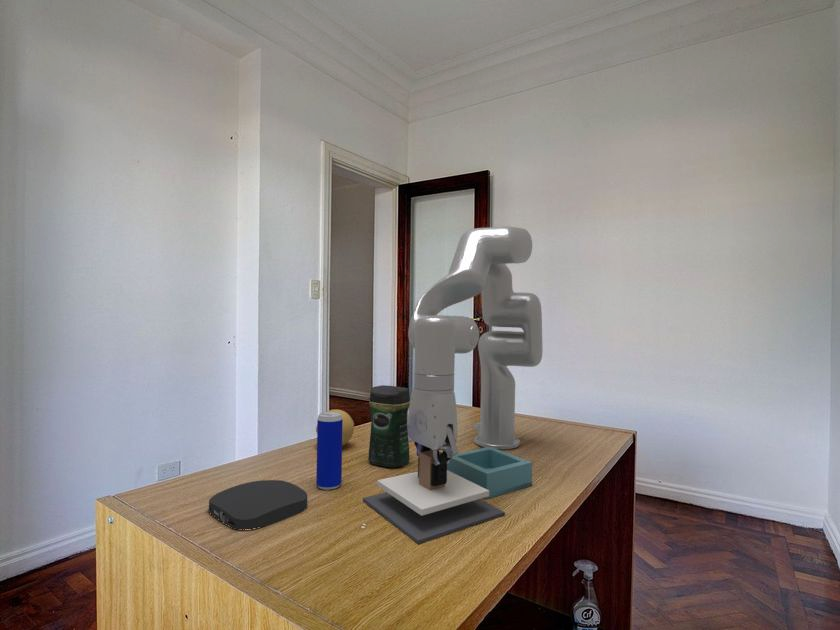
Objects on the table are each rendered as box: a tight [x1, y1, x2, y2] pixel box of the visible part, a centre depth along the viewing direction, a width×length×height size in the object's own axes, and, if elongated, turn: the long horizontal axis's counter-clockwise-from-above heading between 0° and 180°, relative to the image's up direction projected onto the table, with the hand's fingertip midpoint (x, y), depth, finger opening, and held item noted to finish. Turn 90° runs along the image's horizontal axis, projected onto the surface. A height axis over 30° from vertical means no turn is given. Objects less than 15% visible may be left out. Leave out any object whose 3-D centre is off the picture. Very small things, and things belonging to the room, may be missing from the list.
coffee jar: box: [368, 384, 411, 468], centre depth 109 cm, size 10×8×19 cm
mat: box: [362, 491, 506, 545], centre depth 84 cm, size 19×19×1 cm
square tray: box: [447, 447, 533, 500], centre depth 98 cm, size 13×13×5 cm
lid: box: [376, 449, 489, 516], centre depth 84 cm, size 15×15×7 cm
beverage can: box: [315, 411, 343, 491], centre depth 94 cm, size 5×5×15 cm
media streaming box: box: [208, 479, 308, 530], centre depth 83 cm, size 15×15×3 cm
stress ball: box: [315, 409, 355, 447], centre depth 120 cm, size 10×10×10 cm
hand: (432, 480), depth 84 cm, fingers closed on lid, 3 cm apart
